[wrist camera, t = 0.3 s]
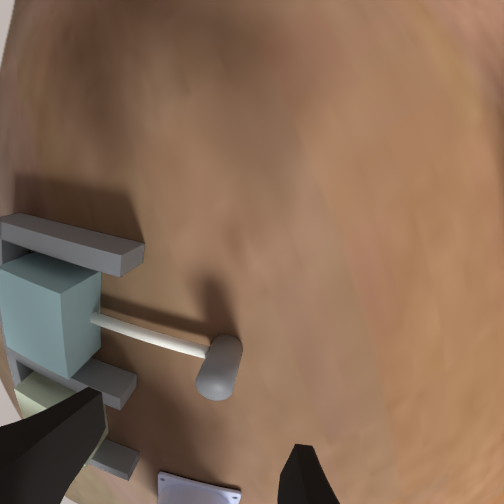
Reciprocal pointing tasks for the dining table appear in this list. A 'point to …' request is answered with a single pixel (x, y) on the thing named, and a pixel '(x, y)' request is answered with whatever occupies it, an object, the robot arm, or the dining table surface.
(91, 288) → the teal block with cord
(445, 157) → the dining table surface
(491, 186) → the dining table surface
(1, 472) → the robot arm
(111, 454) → the lane rack
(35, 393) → the sage block
